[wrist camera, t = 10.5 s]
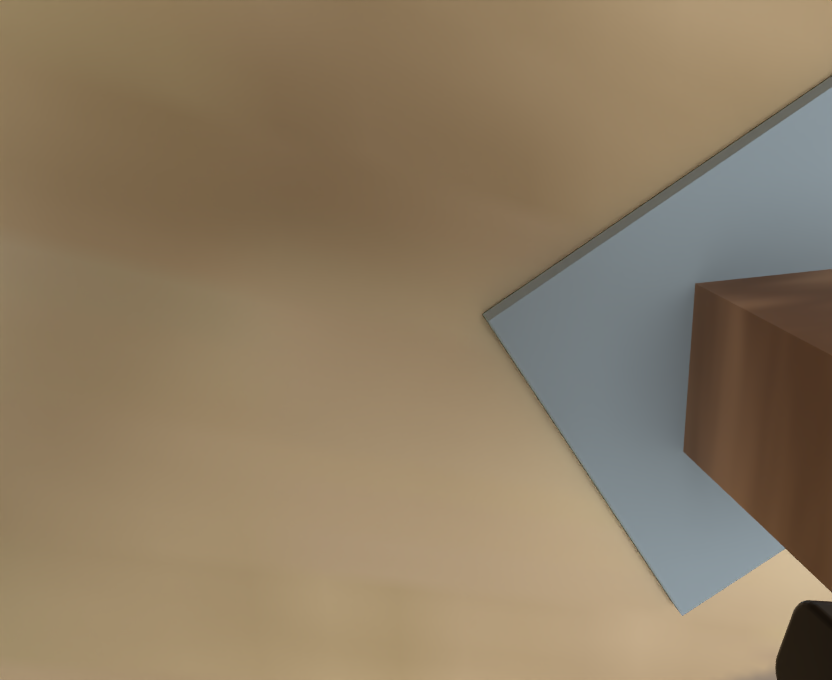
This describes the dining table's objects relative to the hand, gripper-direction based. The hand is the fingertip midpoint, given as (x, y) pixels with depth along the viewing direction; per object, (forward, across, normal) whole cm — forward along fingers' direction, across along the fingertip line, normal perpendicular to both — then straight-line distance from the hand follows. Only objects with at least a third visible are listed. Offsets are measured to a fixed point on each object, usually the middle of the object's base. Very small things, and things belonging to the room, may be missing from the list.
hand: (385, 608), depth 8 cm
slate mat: (+14, -12, +2) cm, 18 cm away
